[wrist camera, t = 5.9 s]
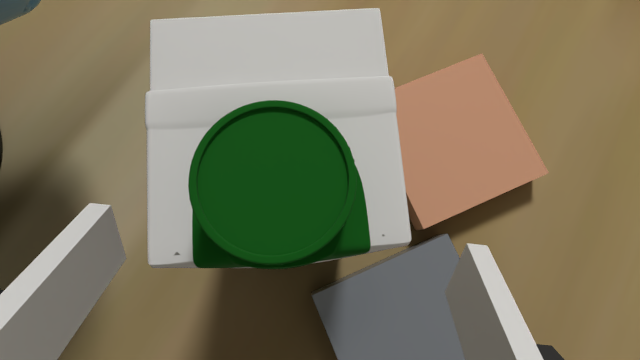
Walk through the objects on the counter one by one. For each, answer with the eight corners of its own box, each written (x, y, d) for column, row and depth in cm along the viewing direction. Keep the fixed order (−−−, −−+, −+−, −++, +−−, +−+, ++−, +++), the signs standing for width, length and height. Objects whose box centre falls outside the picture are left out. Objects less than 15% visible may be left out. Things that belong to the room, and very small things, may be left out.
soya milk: (241, 263, 27) (74, 302, 8) (236, 150, 29) (89, -57, 9) (354, 253, 28) (471, 265, 8) (342, 143, 29) (416, -70, 10)
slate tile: (311, 292, 27) (311, 295, 25) (437, 234, 28) (447, 233, 26) (371, 439, 25) (377, 455, 23) (503, 370, 26) (519, 380, 24)
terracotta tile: (358, 110, 30) (362, 100, 28) (471, 65, 31) (482, 53, 29) (415, 230, 28) (423, 229, 26) (532, 177, 29) (548, 172, 27)
